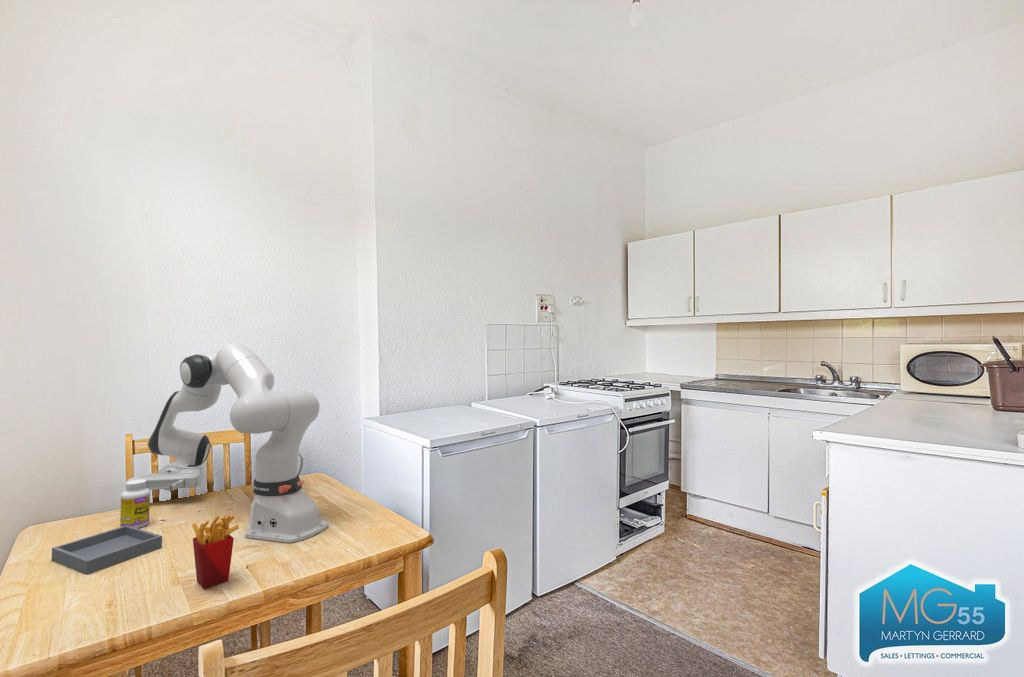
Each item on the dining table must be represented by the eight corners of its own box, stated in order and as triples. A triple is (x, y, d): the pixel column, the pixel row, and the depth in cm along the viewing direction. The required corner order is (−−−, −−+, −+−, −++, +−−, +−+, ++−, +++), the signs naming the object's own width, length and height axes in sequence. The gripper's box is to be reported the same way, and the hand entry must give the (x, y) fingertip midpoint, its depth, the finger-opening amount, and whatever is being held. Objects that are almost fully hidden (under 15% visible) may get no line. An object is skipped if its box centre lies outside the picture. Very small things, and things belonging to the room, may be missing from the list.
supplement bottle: (133, 531, 134) (133, 485, 134) (114, 529, 136) (114, 484, 136) (155, 522, 141) (156, 479, 141) (136, 520, 142) (137, 477, 142)
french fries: (190, 581, 107) (191, 515, 107) (231, 569, 113) (232, 505, 113) (203, 596, 101) (204, 525, 101) (245, 582, 108) (246, 515, 108)
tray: (162, 547, 125) (162, 535, 125) (86, 574, 110) (86, 561, 110) (127, 536, 131) (127, 525, 131) (51, 560, 117) (51, 547, 117)
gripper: (137, 468, 161) (115, 480, 147) (206, 465, 166) (191, 476, 153) (137, 487, 161) (115, 501, 147) (206, 483, 166) (190, 496, 153)
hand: (154, 488), depth 150 cm, fingers open, 8 cm apart
